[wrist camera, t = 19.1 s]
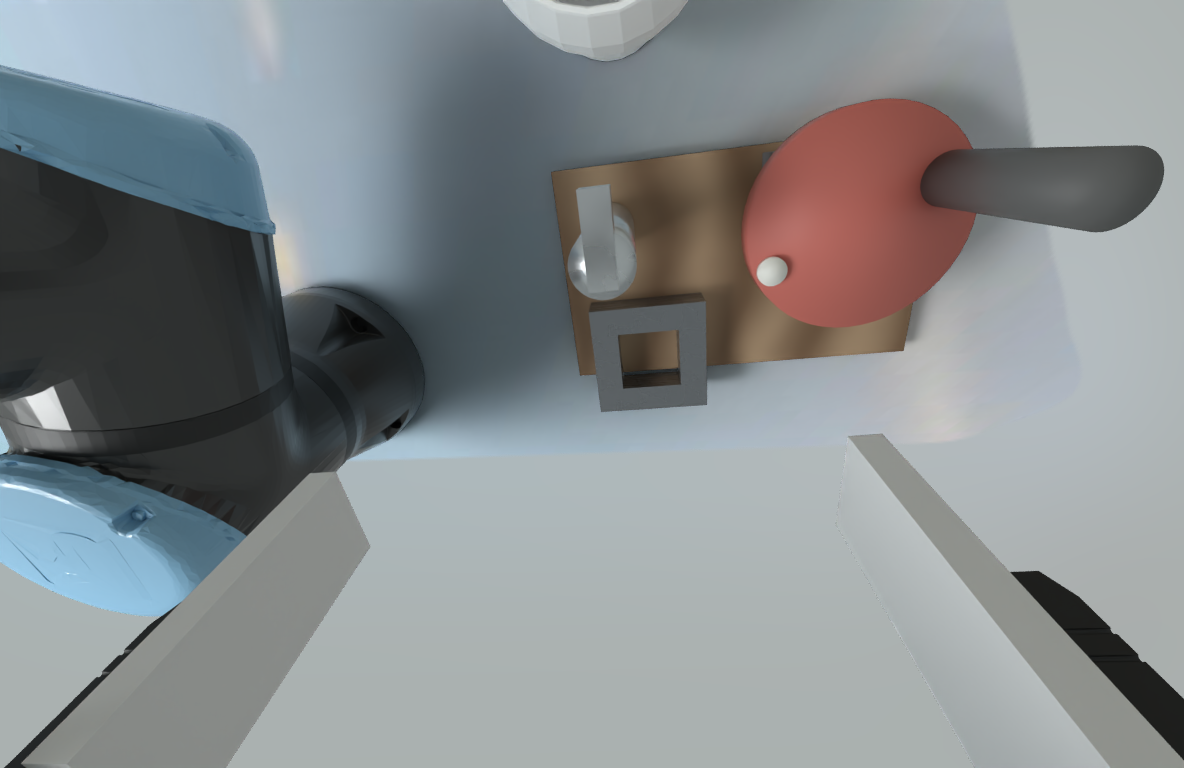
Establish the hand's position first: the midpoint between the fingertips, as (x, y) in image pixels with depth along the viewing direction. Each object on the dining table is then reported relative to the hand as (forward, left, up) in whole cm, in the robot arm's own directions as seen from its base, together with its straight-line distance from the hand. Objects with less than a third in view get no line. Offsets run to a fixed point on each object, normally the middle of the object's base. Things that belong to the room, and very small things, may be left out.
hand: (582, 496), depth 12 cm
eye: (+2, -6, -26) cm, 27 cm away
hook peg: (0, +3, -26) cm, 26 cm away
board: (+9, -1, -27) cm, 29 cm away
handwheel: (+15, +2, -23) cm, 27 cm away
